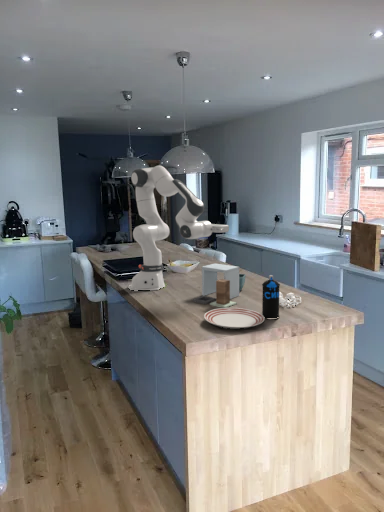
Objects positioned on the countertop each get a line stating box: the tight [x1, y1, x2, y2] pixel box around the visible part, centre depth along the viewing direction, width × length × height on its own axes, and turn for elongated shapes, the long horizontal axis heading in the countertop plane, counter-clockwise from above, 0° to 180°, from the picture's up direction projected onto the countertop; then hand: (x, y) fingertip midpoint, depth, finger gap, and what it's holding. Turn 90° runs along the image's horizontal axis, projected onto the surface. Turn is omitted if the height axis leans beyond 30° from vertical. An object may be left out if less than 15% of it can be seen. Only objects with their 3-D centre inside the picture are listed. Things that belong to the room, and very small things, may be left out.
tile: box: [209, 300, 238, 308], centre depth 226 cm, size 10×10×1 cm
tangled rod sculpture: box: [279, 291, 302, 308], centre depth 226 cm, size 19×14×4 cm
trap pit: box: [192, 295, 216, 305], centre depth 233 cm, size 9×9×1 cm
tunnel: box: [201, 262, 240, 300], centre depth 242 cm, size 12×17×16 cm
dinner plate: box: [203, 307, 266, 330], centre depth 197 cm, size 27×27×3 cm
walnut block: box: [215, 278, 231, 305], centre depth 225 cm, size 5×5×12 cm
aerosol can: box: [261, 274, 281, 318], centre depth 202 cm, size 8×8×20 cm
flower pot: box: [239, 273, 247, 292], centre depth 254 cm, size 9×9×9 cm
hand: (220, 226), depth 245 cm, fingers open, 8 cm apart
